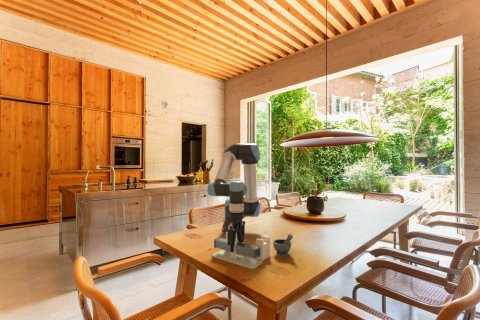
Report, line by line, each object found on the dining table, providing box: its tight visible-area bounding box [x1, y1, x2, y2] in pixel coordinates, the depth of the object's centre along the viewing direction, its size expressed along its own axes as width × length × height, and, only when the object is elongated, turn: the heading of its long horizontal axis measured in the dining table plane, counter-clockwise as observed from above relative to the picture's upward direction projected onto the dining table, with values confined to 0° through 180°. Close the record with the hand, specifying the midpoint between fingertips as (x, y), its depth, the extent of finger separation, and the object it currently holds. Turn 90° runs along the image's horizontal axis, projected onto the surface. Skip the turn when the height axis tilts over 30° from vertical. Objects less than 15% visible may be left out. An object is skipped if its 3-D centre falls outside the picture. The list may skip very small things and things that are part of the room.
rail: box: [213, 236, 260, 260], centre depth 125 cm, size 26×5×4 cm, turn 55°
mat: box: [211, 249, 263, 270], centre depth 125 cm, size 26×9×1 cm, turn 55°
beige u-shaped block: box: [255, 235, 271, 262], centre depth 128 cm, size 4×8×10 cm, turn 145°
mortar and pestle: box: [272, 233, 294, 258], centre depth 132 cm, size 11×9×12 cm
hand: (236, 256), depth 125 cm, fingers closed on rail, 4 cm apart
